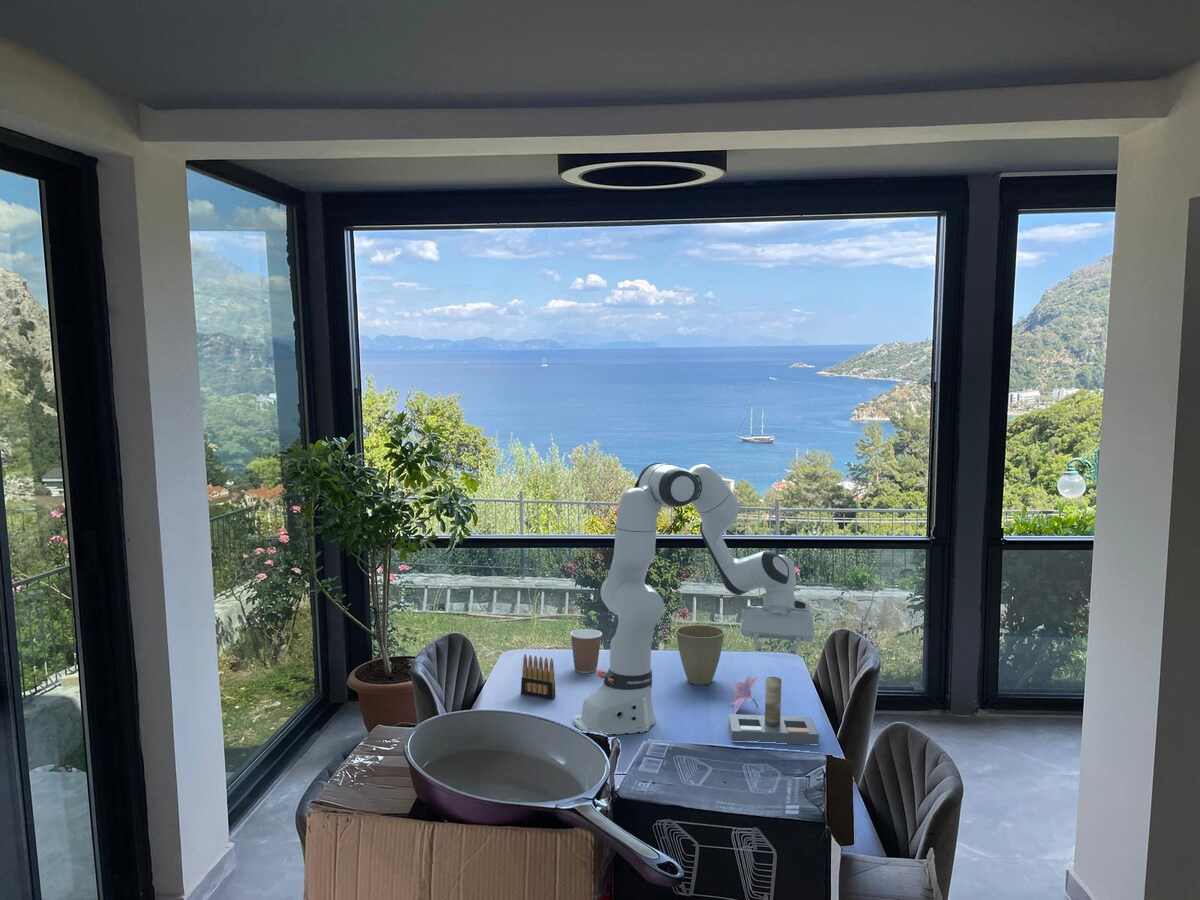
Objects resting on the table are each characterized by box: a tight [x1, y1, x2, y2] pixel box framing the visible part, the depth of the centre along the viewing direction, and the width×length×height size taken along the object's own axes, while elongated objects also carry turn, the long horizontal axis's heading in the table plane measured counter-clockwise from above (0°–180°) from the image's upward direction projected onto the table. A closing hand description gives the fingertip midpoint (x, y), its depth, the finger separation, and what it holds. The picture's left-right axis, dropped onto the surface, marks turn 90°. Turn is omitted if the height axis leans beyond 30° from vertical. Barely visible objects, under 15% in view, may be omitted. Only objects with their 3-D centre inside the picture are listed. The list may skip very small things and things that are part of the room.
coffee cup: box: [569, 628, 603, 674], centre depth 287 cm, size 10×10×12 cm
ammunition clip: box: [520, 653, 556, 701], centre depth 262 cm, size 11×2×12 cm, turn 65°
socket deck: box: [728, 713, 820, 746], centre depth 234 cm, size 22×12×3 cm, turn 86°
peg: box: [764, 676, 782, 727], centre depth 234 cm, size 4×4×12 cm
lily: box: [729, 672, 760, 714], centre depth 254 cm, size 12×12×10 cm
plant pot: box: [675, 624, 725, 686], centre depth 277 cm, size 15×15×16 cm
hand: (776, 651), depth 245 cm, fingers open, 8 cm apart
